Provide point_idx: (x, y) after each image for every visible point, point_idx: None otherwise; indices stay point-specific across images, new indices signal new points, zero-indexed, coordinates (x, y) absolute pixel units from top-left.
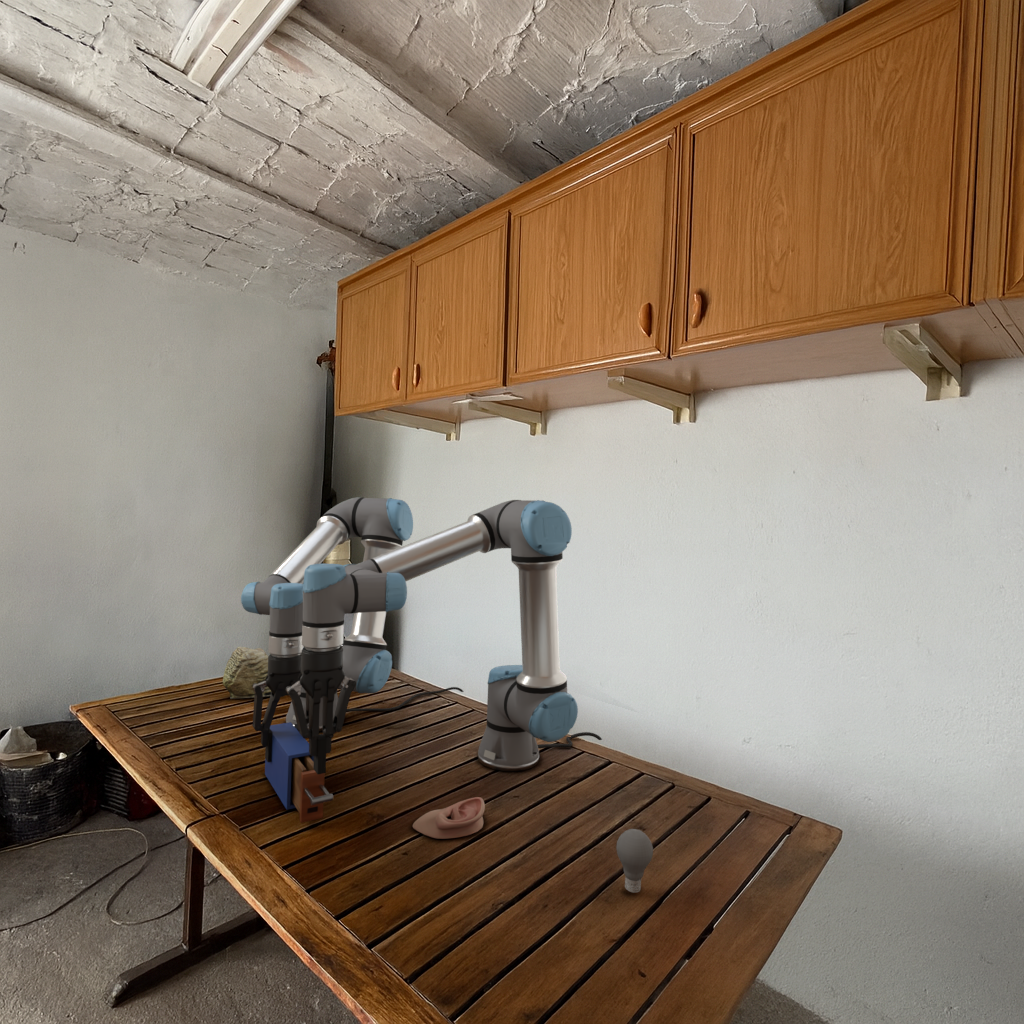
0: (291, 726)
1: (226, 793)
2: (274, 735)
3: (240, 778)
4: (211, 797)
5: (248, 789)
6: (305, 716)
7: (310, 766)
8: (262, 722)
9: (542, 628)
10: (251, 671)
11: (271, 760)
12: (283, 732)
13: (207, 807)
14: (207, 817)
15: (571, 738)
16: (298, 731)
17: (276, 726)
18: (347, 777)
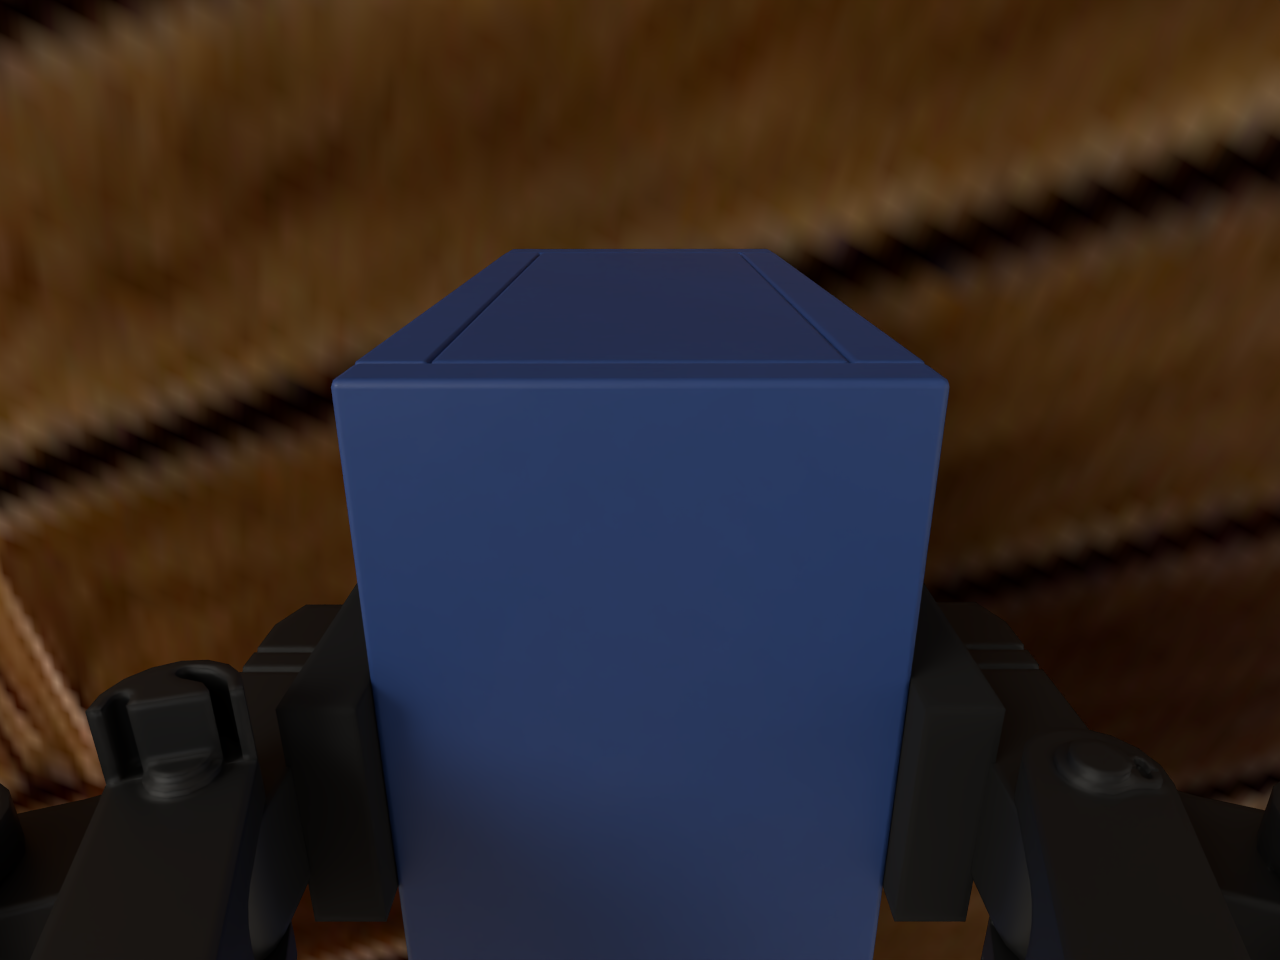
0: (852, 670)
1: (139, 500)
2: (422, 951)
3: (263, 230)
4: (17, 517)
5: (327, 509)
6: (1266, 904)
7: None
8: (79, 879)
9: None
10: None
11: None
12: (605, 894)
13: (9, 667)
14: (30, 800)
15: None
16: (868, 956)
17: (551, 523)
18: (1156, 660)
